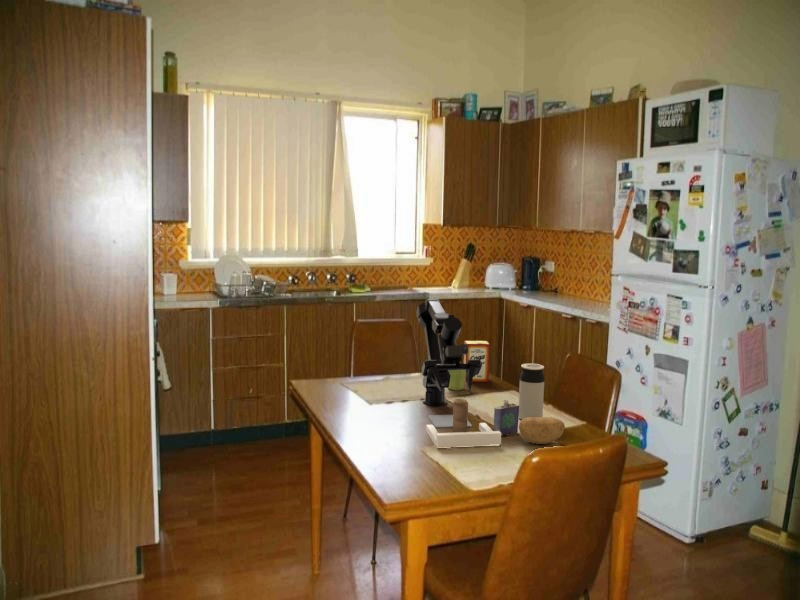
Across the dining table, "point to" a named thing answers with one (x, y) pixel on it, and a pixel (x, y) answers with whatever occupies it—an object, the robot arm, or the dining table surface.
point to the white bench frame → (464, 437)
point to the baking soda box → (482, 353)
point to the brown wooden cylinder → (460, 415)
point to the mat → (443, 421)
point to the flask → (506, 418)
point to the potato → (541, 429)
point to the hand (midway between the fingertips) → (455, 390)
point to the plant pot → (457, 379)
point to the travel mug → (531, 391)
